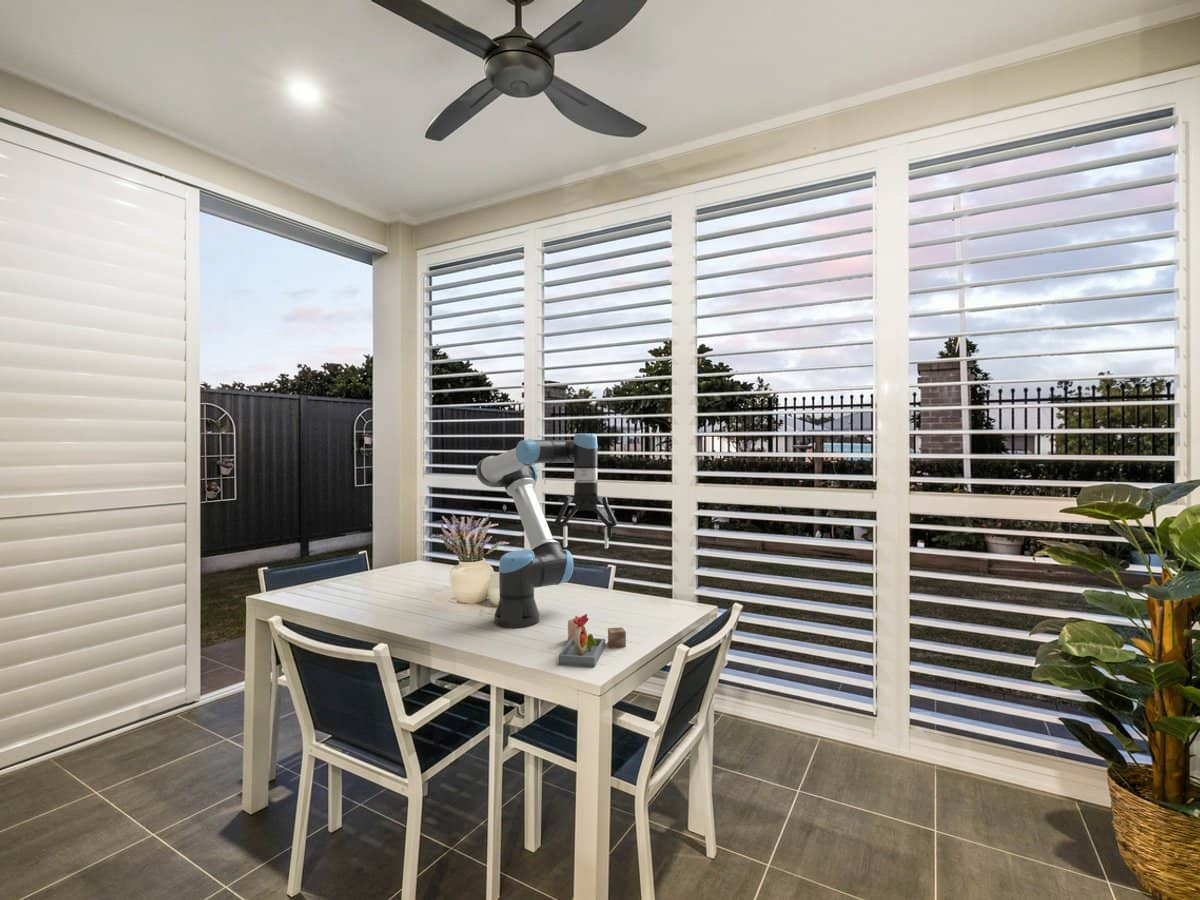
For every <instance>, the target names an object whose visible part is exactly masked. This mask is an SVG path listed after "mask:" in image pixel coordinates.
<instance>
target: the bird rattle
mask: <svg viewBox="0 0 1200 900" xmlns="http://www.w3.org/2000/svg"><path fill="white" fill-rule="evenodd" d="M572 619H573V622H574V623H575V624H577V625H578V626H577V627H576V630H575V633H574V646H575V649H576V651H577V652H578V655H580V656H582V655H583V653H584V652H585V650H586V648H587V649H588V650H591V648H592V646H595V645H596V644H597V642H596V641H595V640H594V639H593V638H594V635H593V634H592V633H590V634H588V632H587V630H586V626H585V625H586V624H587V622H588V621H589V617H588V614H587V613H586V614H584V615H582V616H577V615H575V617H574V618H572ZM580 633H581V634H580Z"/></svg>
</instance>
